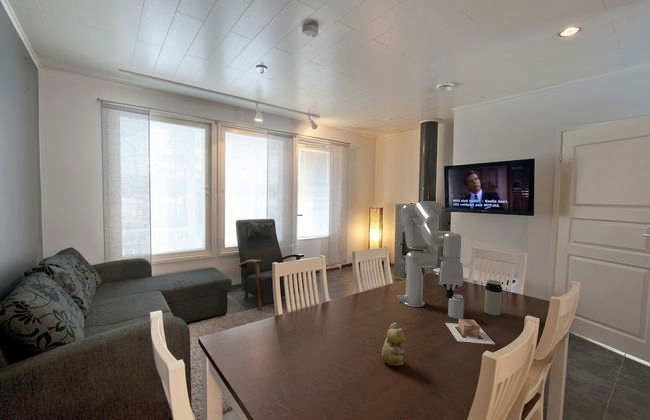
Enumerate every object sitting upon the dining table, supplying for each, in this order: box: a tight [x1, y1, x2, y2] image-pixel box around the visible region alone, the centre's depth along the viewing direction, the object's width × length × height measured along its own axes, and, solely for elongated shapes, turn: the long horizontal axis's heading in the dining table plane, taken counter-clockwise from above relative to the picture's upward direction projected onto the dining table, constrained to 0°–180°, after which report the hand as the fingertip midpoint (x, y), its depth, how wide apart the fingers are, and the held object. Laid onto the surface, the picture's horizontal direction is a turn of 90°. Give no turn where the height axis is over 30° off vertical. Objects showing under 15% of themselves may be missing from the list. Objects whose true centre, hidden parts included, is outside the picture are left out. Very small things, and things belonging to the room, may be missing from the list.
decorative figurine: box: [381, 322, 406, 367], centre depth 108 cm, size 10×8×15 cm
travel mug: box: [483, 279, 503, 317], centre depth 157 cm, size 8×8×18 cm
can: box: [447, 293, 465, 320], centre depth 150 cm, size 8×8×12 cm
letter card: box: [445, 322, 496, 345], centre depth 133 cm, size 16×18×1 cm
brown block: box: [457, 318, 481, 337], centre depth 133 cm, size 7×7×5 cm
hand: (449, 297), depth 133 cm, fingers closed
